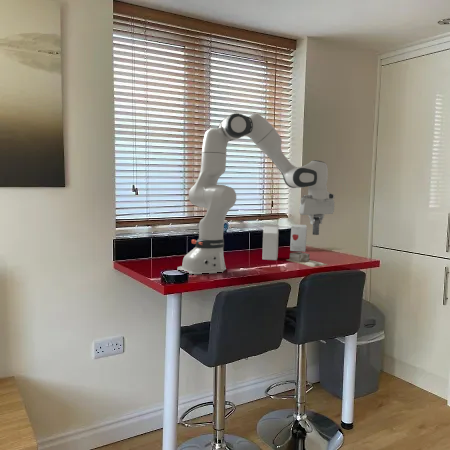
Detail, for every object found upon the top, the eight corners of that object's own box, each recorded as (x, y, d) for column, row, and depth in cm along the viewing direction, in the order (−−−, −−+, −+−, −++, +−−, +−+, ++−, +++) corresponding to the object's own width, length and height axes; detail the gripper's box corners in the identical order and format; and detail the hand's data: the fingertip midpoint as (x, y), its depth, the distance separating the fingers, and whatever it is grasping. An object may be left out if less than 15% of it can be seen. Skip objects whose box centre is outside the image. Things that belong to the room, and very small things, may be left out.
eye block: (311, 269, 212) (312, 259, 211) (285, 262, 228) (285, 252, 227) (328, 267, 218) (328, 257, 218) (301, 260, 234) (301, 251, 233)
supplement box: (289, 251, 263) (290, 225, 262) (290, 248, 272) (291, 224, 270) (305, 252, 262) (306, 226, 260) (305, 249, 270) (307, 224, 269)
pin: (315, 235, 213) (316, 215, 212) (307, 234, 217) (308, 214, 216) (324, 234, 216) (325, 215, 215) (315, 233, 221) (316, 214, 219)
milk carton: (276, 263, 226) (277, 225, 224) (262, 262, 228) (263, 224, 226) (277, 260, 233) (278, 224, 231) (263, 259, 235) (265, 223, 233)
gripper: (306, 195, 206) (304, 225, 208) (337, 195, 217) (335, 223, 219) (296, 194, 211) (295, 224, 213) (327, 194, 223) (326, 222, 224)
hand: (316, 223), depth 216 cm, fingers closed on pin, 3 cm apart
